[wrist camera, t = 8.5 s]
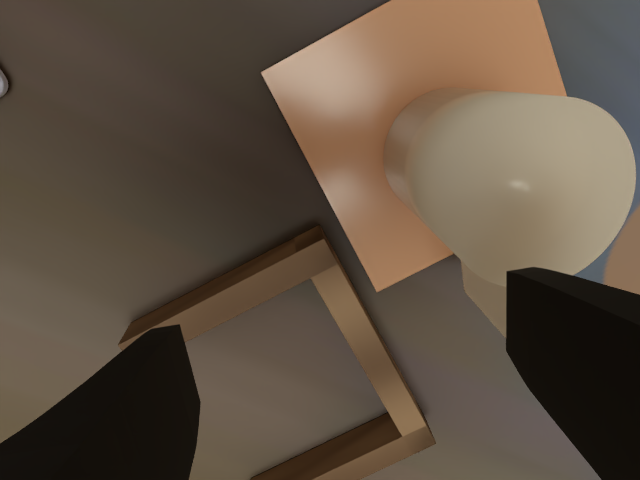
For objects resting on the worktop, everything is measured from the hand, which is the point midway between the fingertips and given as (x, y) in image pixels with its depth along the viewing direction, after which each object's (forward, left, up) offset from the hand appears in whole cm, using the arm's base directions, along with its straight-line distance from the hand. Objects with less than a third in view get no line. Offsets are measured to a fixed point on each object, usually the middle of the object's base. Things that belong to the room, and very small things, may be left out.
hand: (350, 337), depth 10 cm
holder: (+6, -5, -10) cm, 13 cm away
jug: (+1, +5, -9) cm, 11 cm away
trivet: (-1, +6, -10) cm, 11 cm away
